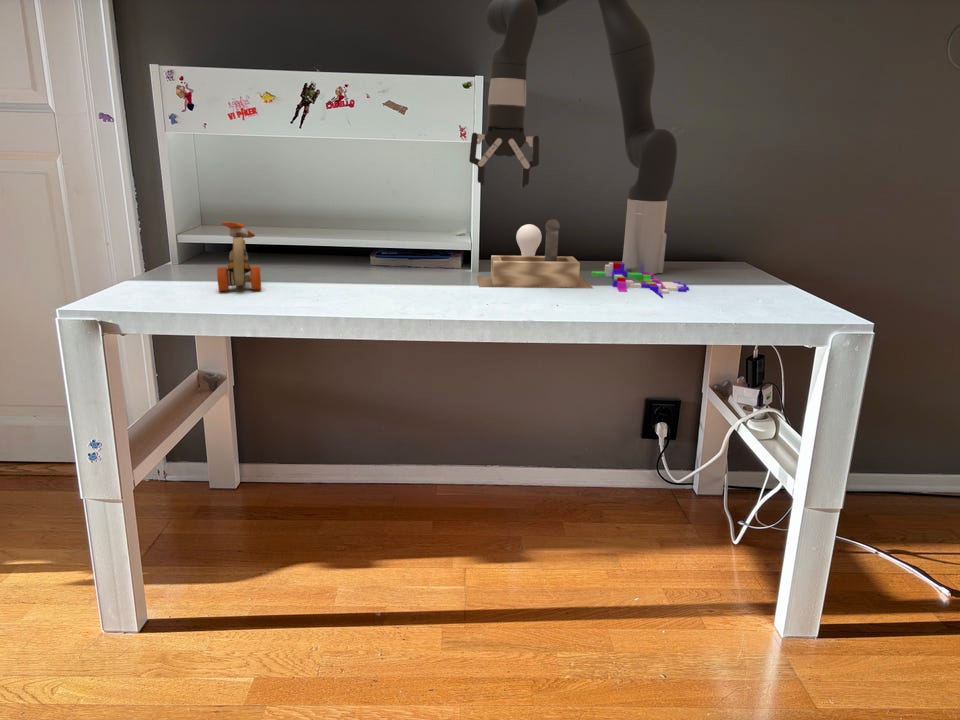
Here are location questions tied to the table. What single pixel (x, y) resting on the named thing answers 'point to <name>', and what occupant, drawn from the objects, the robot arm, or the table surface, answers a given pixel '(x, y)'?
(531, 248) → the lightbulb
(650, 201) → the robot arm
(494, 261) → the open wooden box
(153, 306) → the table surface
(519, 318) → the table surface
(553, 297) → the table surface
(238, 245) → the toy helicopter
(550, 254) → the walnut post stand
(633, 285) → the building block set
